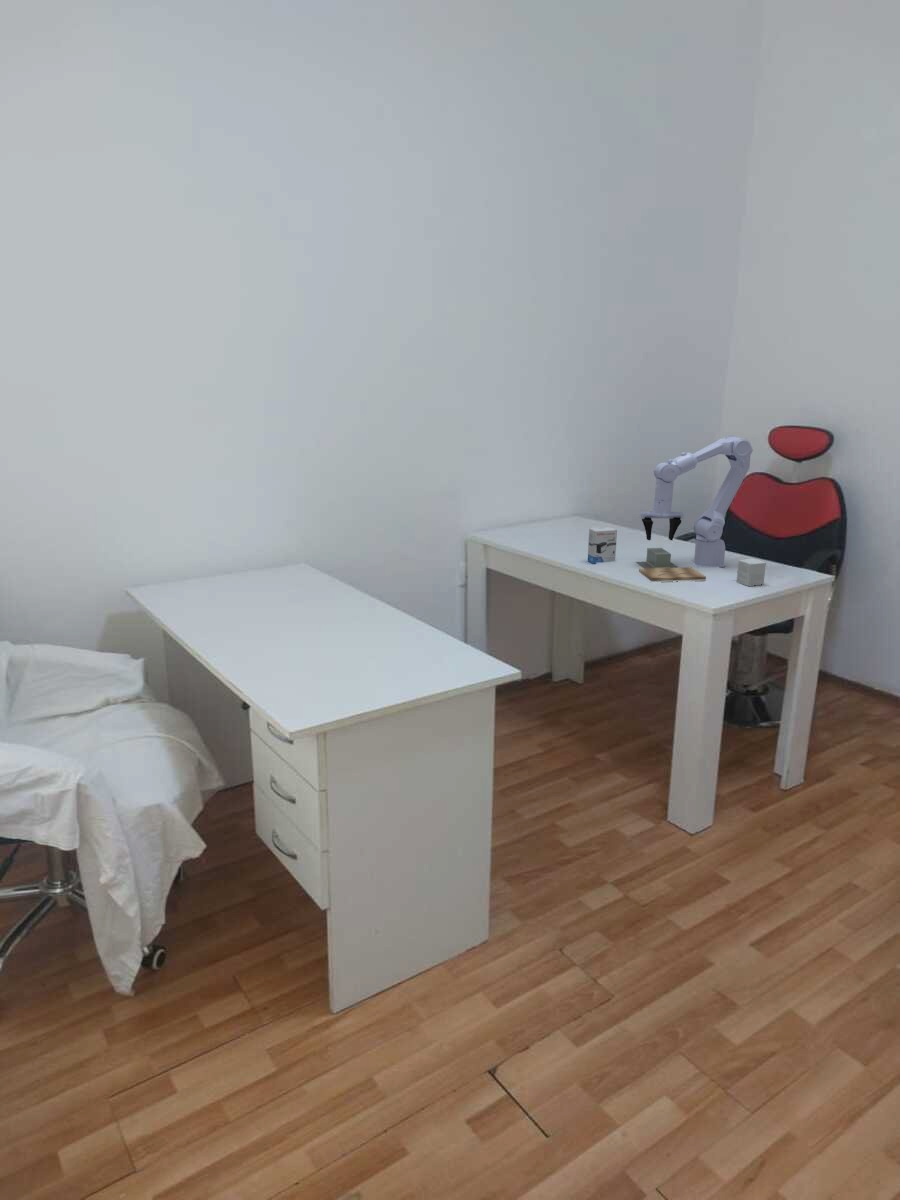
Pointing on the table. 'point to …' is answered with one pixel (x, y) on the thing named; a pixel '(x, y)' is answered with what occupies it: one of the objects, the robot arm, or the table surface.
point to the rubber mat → (646, 566)
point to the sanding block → (658, 558)
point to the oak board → (672, 574)
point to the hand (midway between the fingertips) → (659, 539)
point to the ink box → (602, 544)
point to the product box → (751, 572)
